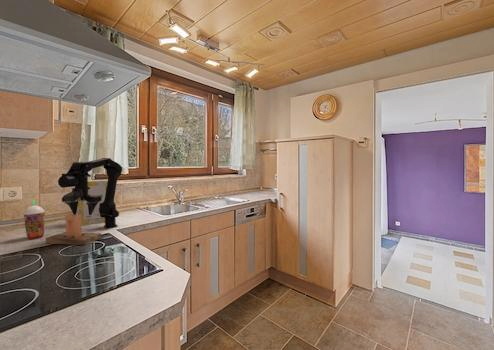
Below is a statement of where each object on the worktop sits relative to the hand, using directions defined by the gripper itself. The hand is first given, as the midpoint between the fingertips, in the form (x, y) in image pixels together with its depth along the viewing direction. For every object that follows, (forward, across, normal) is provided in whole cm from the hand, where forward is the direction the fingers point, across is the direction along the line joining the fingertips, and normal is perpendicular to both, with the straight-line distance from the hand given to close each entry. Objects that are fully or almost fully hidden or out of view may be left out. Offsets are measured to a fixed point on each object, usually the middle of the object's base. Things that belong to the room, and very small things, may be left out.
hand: (82, 214), depth 119 cm
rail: (+12, 0, -5) cm, 13 cm away
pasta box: (+12, -18, +28) cm, 36 cm away
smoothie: (+12, -25, -4) cm, 28 cm away
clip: (+12, 0, -5) cm, 13 cm away
